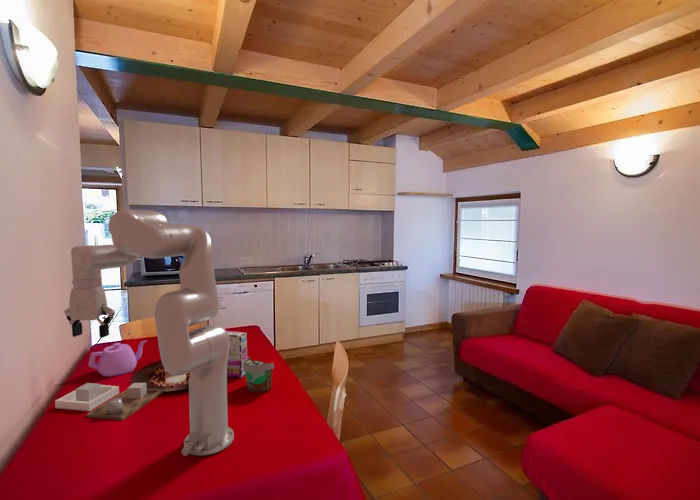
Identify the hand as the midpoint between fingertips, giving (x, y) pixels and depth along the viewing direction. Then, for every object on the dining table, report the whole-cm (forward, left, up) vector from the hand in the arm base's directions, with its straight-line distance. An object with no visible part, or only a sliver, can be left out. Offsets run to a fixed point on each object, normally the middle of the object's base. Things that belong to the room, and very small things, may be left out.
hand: (91, 336), depth 119 cm
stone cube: (-1, +1, -21) cm, 21 cm away
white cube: (+4, -12, -21) cm, 25 cm away
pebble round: (-7, -14, -21) cm, 26 cm away
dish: (-1, +1, -22) cm, 22 cm away
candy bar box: (+27, -35, -22) cm, 49 cm away
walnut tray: (-1, -13, -22) cm, 25 cm away
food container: (+16, -49, -22) cm, 56 cm away
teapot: (+23, +10, -22) cm, 33 cm away
